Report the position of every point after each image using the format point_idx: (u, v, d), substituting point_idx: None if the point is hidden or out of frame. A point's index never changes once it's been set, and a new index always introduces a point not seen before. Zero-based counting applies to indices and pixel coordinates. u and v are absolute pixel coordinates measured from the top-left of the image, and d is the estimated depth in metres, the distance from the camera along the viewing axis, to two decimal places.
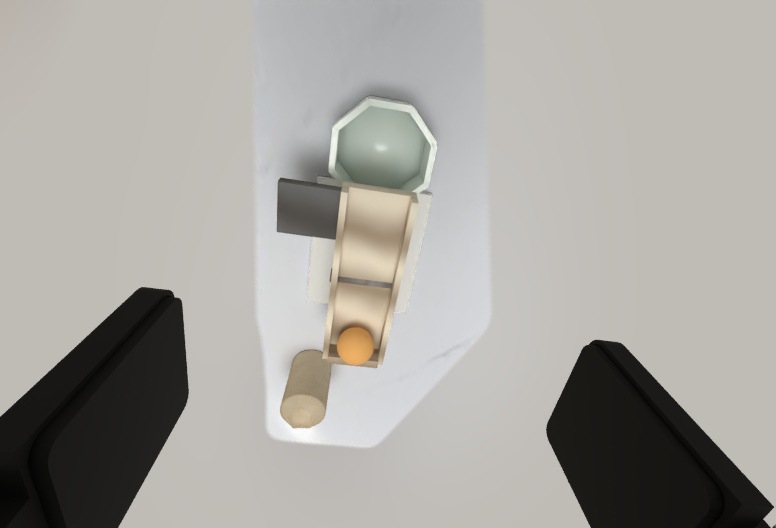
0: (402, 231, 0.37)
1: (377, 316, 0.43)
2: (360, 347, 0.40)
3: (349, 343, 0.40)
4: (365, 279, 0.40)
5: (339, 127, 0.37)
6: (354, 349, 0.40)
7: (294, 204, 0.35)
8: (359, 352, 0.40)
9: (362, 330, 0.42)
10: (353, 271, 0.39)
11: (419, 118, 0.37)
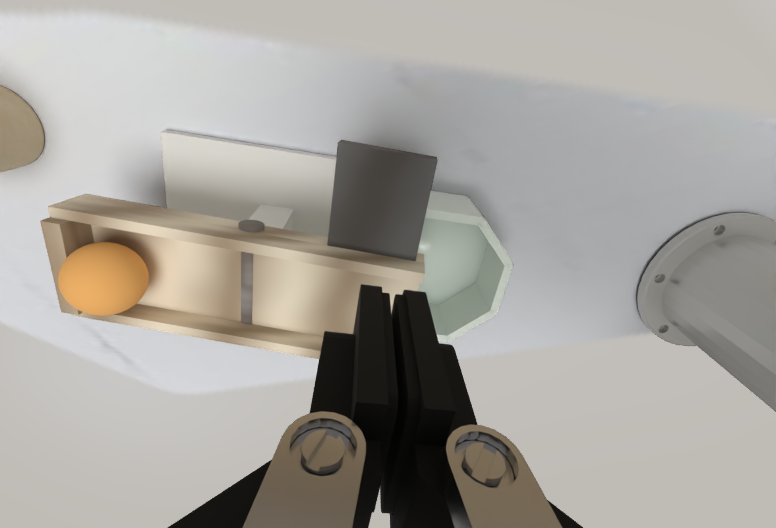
0: None
1: (178, 299, 0.24)
2: (111, 303, 0.20)
3: (114, 281, 0.20)
4: (253, 285, 0.23)
5: (481, 226, 0.26)
6: (103, 294, 0.20)
7: (394, 183, 0.20)
8: (98, 303, 0.20)
9: (146, 288, 0.22)
10: (267, 267, 0.23)
11: (481, 321, 0.29)
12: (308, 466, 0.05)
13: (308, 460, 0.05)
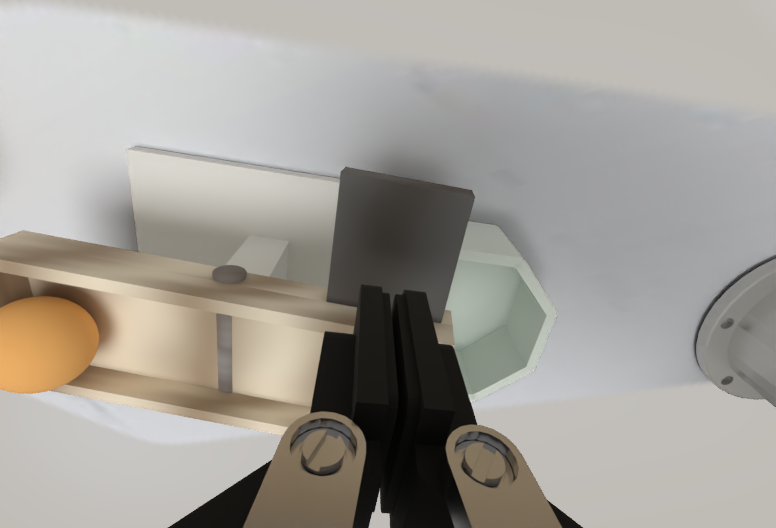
0: None
1: (140, 362, 0.19)
2: (40, 380, 0.15)
3: (43, 353, 0.15)
4: (232, 347, 0.18)
5: (520, 269, 0.21)
6: (28, 371, 0.15)
7: (415, 225, 0.15)
8: (22, 383, 0.15)
9: (93, 353, 0.17)
10: (249, 327, 0.18)
11: (515, 378, 0.24)
12: (308, 466, 0.05)
13: (308, 460, 0.05)
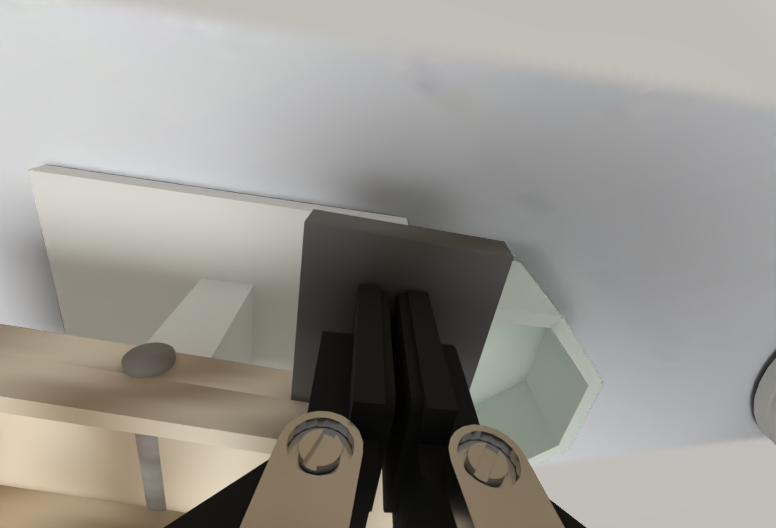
0: None
1: (32, 475, 0.14)
2: None
3: None
4: (160, 456, 0.13)
5: (557, 330, 0.16)
6: None
7: None
8: None
9: None
10: None
11: (544, 458, 0.19)
12: (305, 465, 0.05)
13: (305, 459, 0.05)
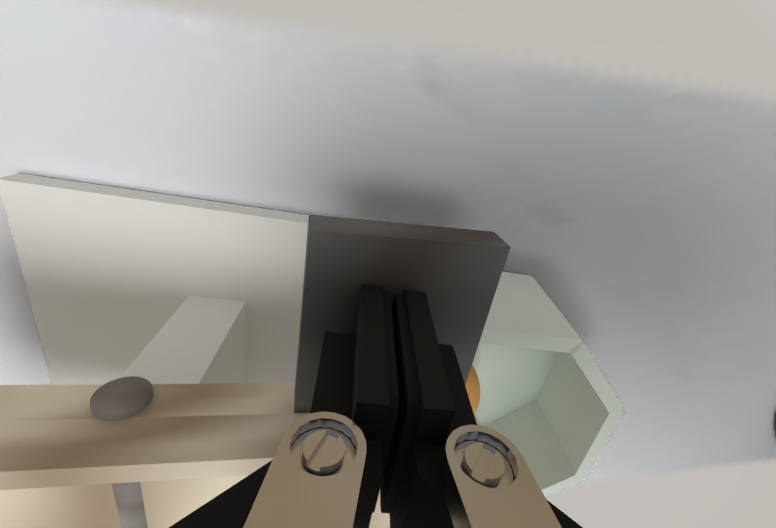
0: None
1: None
2: None
3: None
4: (143, 500, 0.12)
5: (577, 355, 0.14)
6: None
7: (426, 294, 0.10)
8: None
9: None
10: None
11: (559, 489, 0.17)
12: (308, 466, 0.05)
13: (308, 460, 0.05)
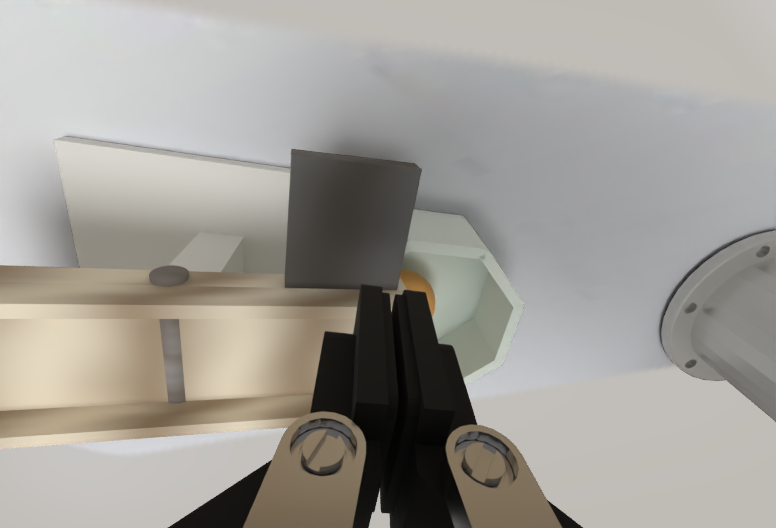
0: None
1: (63, 393, 0.16)
2: None
3: None
4: (181, 353, 0.17)
5: (485, 260, 0.20)
6: None
7: (369, 201, 0.16)
8: None
9: None
10: (200, 328, 0.17)
11: (484, 372, 0.24)
12: (308, 466, 0.05)
13: (308, 460, 0.05)
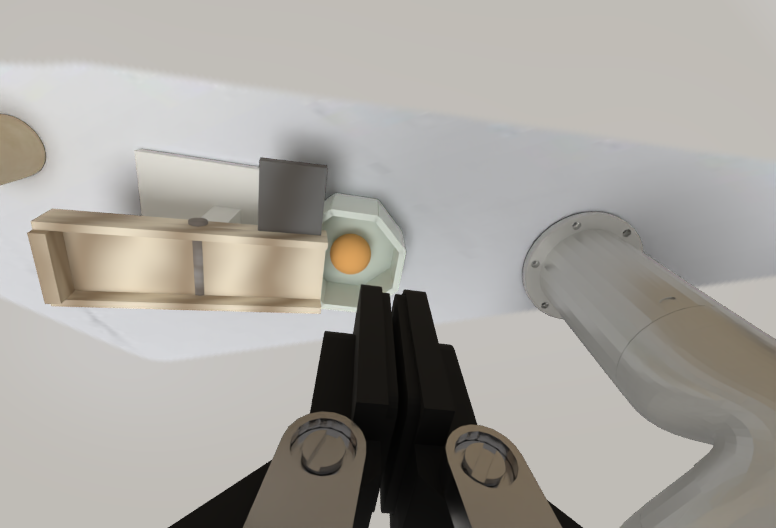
0: (278, 297, 0.34)
1: (142, 283, 0.31)
2: None
3: None
4: (203, 265, 0.32)
5: (378, 222, 0.34)
6: None
7: (300, 184, 0.30)
8: None
9: None
10: (213, 251, 0.31)
11: None
12: (308, 466, 0.05)
13: (308, 460, 0.05)
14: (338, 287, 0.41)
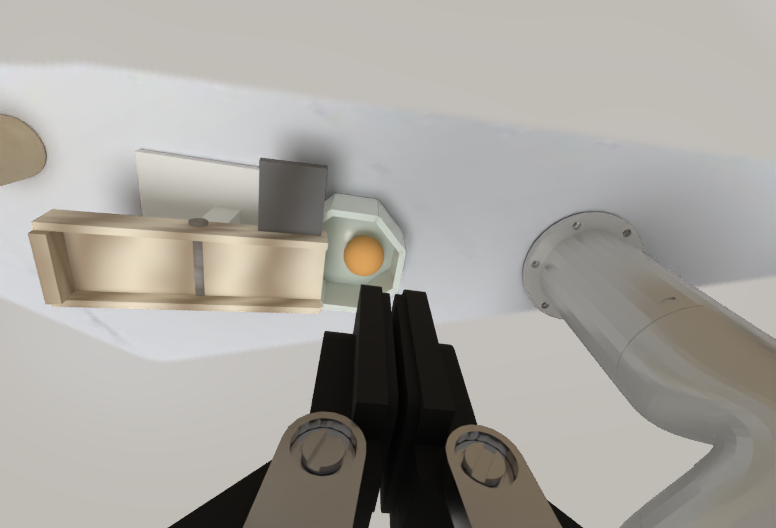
0: (279, 297, 0.34)
1: (142, 284, 0.31)
2: None
3: None
4: (203, 265, 0.32)
5: (378, 223, 0.34)
6: None
7: (300, 185, 0.30)
8: None
9: (346, 262, 0.37)
10: (213, 251, 0.31)
11: None
12: (308, 466, 0.05)
13: (308, 460, 0.05)
14: (338, 287, 0.41)
